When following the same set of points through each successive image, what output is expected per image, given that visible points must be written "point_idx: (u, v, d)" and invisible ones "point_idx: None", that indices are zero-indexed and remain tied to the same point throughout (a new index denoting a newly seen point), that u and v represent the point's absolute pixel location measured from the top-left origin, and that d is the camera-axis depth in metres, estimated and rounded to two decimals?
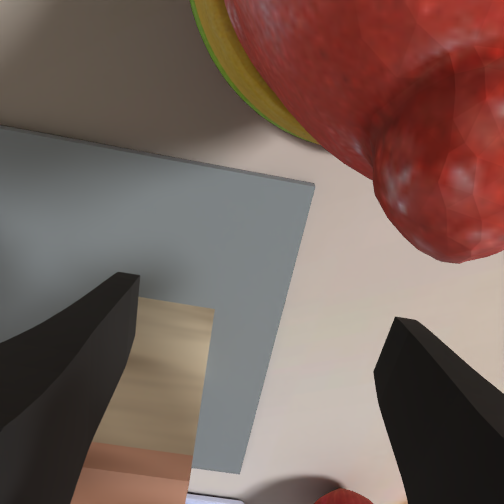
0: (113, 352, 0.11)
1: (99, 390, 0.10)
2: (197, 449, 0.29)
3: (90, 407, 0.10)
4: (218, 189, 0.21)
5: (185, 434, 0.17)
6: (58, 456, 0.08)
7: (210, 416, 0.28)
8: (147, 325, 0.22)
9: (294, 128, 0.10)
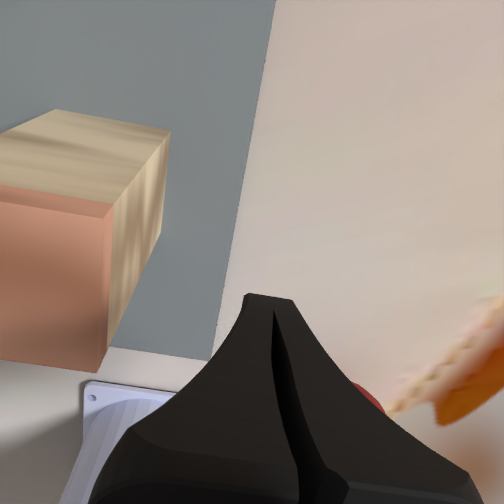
0: None
1: None
2: (160, 328, 0.25)
3: None
4: None
5: (108, 190, 0.13)
6: None
7: (173, 282, 0.24)
8: (84, 128, 0.18)
9: None
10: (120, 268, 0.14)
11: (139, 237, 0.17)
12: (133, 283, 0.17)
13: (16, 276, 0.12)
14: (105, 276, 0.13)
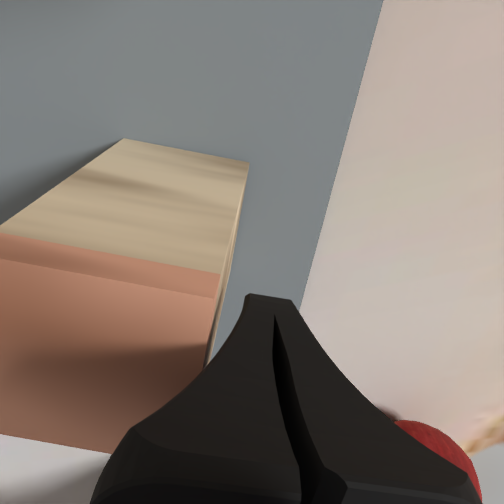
0: None
1: None
2: None
3: None
4: None
5: (208, 253, 0.11)
6: None
7: None
8: (159, 163, 0.16)
9: None
10: (211, 337, 0.12)
11: (222, 291, 0.15)
12: (213, 342, 0.15)
13: (103, 359, 0.10)
14: (205, 358, 0.10)
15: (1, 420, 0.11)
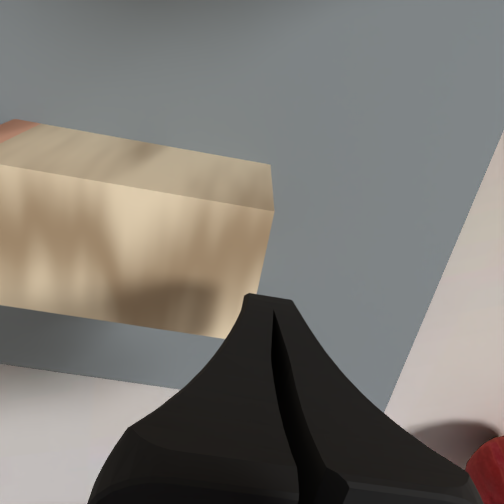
0: None
1: None
2: None
3: None
4: (428, 2, 0.16)
5: (5, 160, 0.14)
6: None
7: (359, 340, 0.22)
8: (211, 169, 0.16)
9: None
10: (14, 246, 0.15)
11: (100, 265, 0.15)
12: (83, 306, 0.16)
13: None
14: None
15: None
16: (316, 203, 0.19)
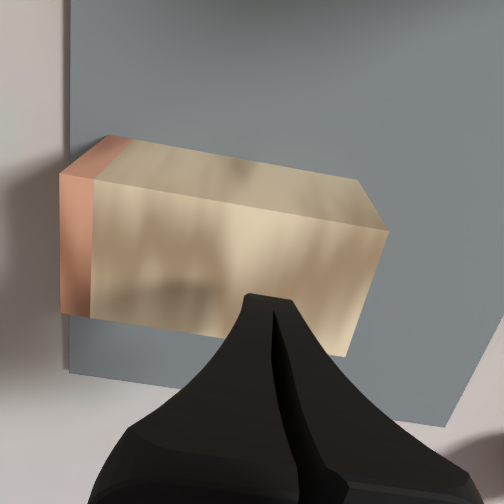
0: None
1: None
2: (402, 395, 0.24)
3: None
4: None
5: (126, 180, 0.14)
6: None
7: (429, 351, 0.22)
8: (309, 186, 0.17)
9: None
10: (128, 263, 0.15)
11: (210, 282, 0.15)
12: (189, 321, 0.16)
13: None
14: (75, 235, 0.14)
15: None
16: (399, 218, 0.19)
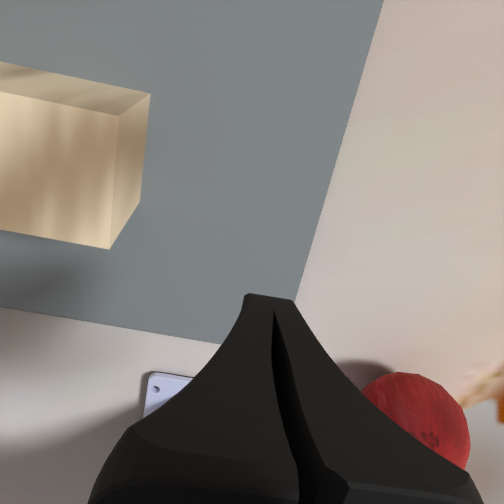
0: None
1: None
2: (232, 319, 0.25)
3: None
4: None
5: None
6: None
7: (250, 273, 0.23)
8: (82, 88, 0.18)
9: None
10: None
11: None
12: None
13: None
14: None
15: None
16: (197, 133, 0.20)
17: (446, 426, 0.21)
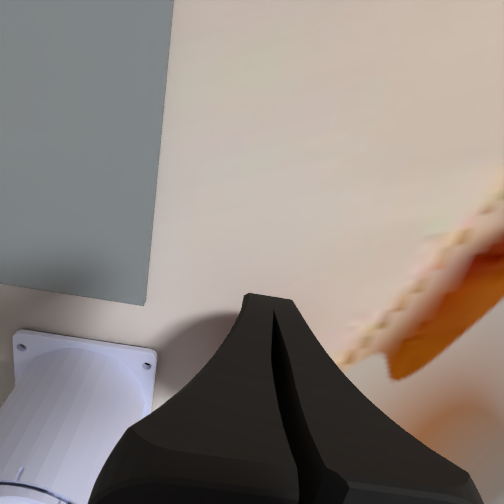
0: None
1: None
2: (87, 268, 0.23)
3: None
4: None
5: None
6: None
7: (96, 215, 0.22)
8: None
9: None
10: None
11: None
12: None
13: None
14: None
15: None
16: (10, 57, 0.19)
17: None
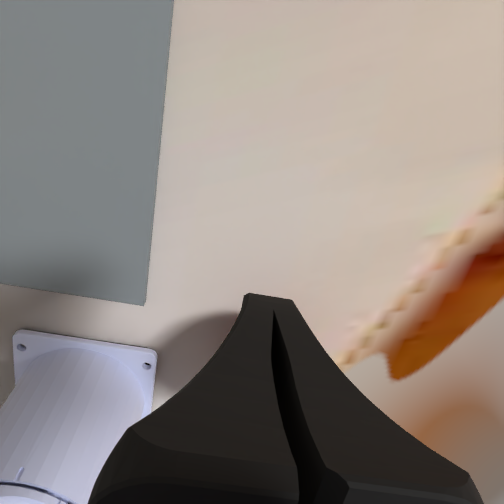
0: None
1: None
2: (87, 268, 0.23)
3: None
4: None
5: None
6: None
7: (96, 215, 0.22)
8: None
9: None
10: None
11: None
12: None
13: None
14: None
15: None
16: (10, 57, 0.19)
17: None
